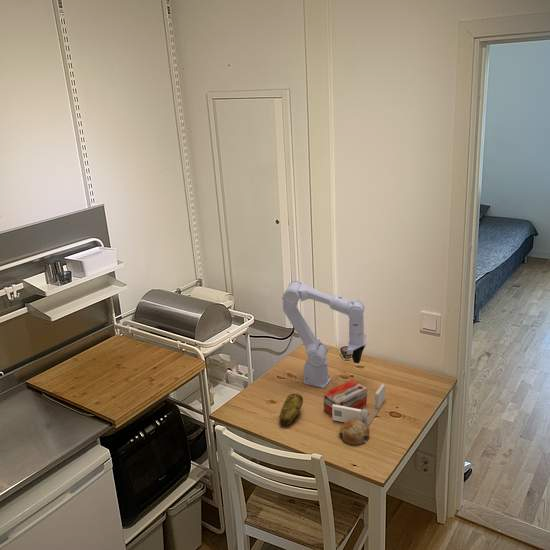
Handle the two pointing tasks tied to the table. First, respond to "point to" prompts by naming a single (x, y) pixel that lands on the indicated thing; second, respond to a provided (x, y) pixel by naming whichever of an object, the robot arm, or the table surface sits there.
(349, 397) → the medicine box
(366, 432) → the bread roll
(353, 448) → the table surface
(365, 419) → the white upright panel
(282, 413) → the olive-green oval lump
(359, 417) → the door
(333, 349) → the table surface
